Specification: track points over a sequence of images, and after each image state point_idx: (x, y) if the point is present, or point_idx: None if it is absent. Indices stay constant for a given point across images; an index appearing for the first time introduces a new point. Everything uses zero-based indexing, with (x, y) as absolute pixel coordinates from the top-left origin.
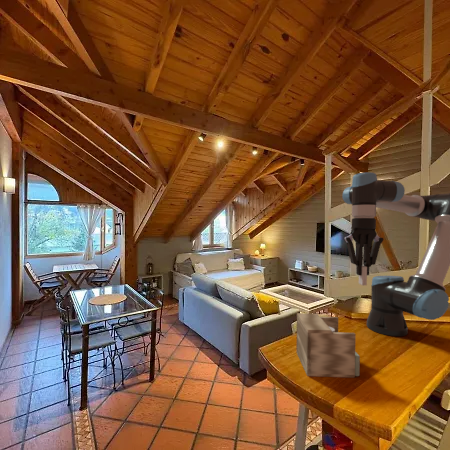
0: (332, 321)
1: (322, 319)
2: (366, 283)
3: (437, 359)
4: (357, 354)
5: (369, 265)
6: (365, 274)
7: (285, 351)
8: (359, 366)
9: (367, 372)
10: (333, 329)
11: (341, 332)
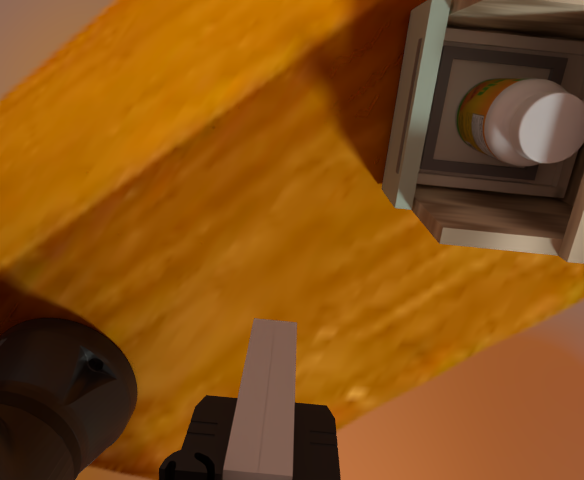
0: (469, 224)
1: (531, 232)
2: (254, 328)
3: (7, 132)
4: (433, 12)
5: (191, 466)
6: (256, 390)
7: None
8: (419, 5)
9: (354, 46)
10: (530, 117)
11: (568, 2)
